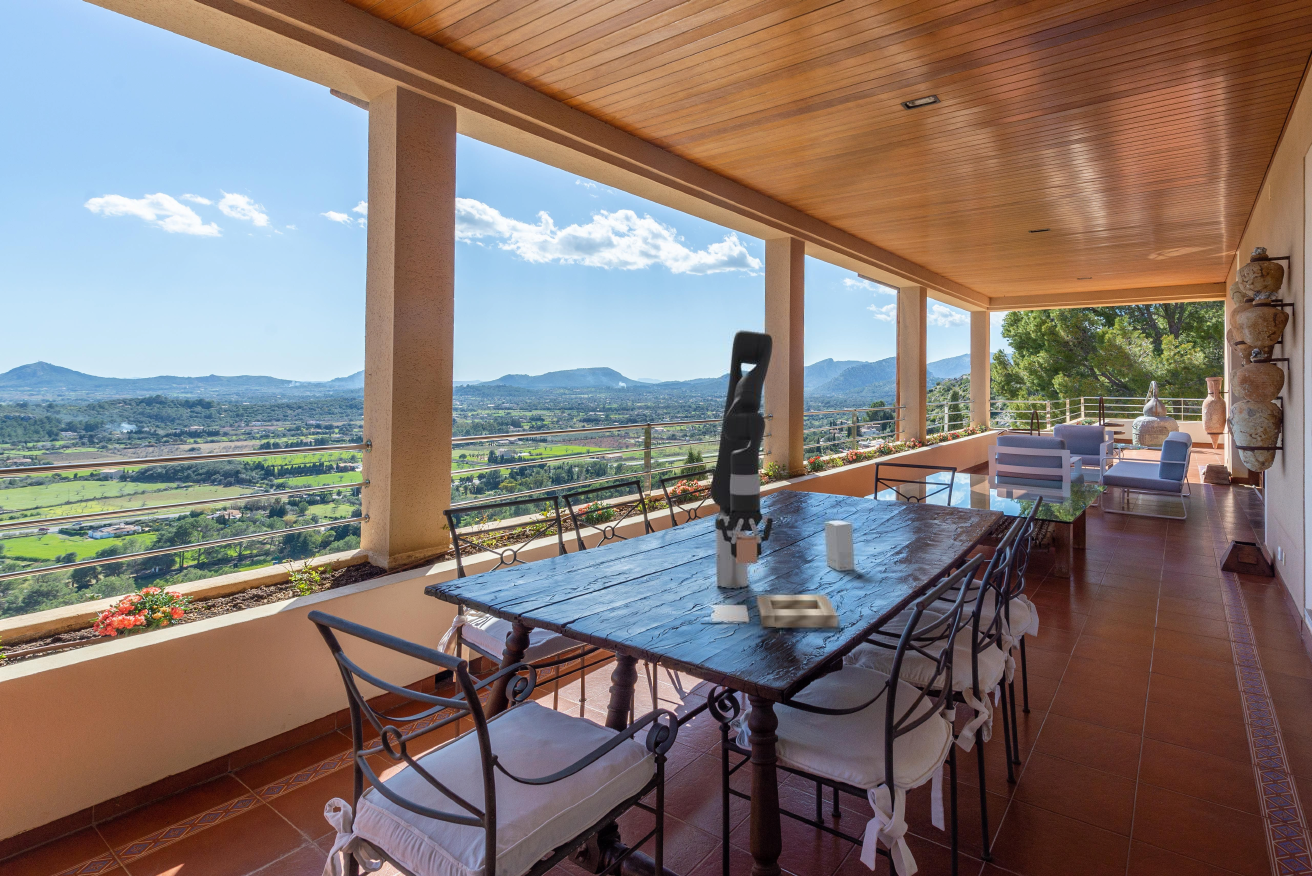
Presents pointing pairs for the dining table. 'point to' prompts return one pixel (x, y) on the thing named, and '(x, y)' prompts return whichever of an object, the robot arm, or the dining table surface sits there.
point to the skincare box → (839, 545)
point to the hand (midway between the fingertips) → (746, 556)
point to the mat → (730, 613)
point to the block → (746, 549)
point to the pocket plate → (796, 611)
